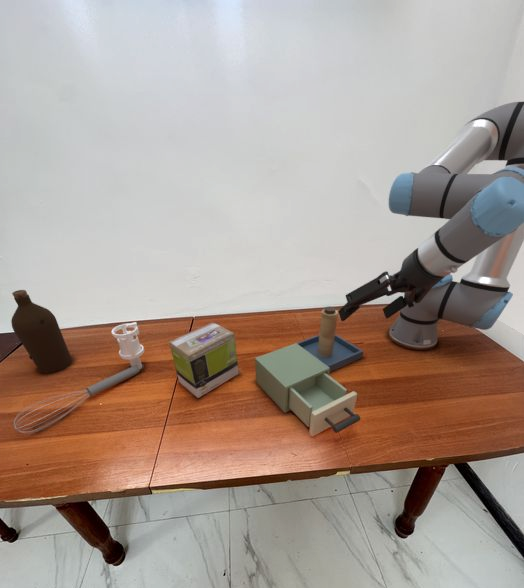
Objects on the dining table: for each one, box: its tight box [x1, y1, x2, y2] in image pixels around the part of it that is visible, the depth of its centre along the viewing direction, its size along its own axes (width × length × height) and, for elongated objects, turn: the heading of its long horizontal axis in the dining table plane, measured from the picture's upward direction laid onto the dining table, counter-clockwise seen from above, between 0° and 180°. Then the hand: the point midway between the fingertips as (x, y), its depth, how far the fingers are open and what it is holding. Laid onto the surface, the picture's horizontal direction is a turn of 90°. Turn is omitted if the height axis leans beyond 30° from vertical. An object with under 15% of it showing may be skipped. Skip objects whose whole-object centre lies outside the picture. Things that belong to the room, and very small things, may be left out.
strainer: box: [111, 321, 145, 370], centre depth 89 cm, size 7×7×15 cm
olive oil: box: [10, 289, 73, 374], centre depth 88 cm, size 11×11×25 cm
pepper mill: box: [318, 306, 339, 358], centre depth 92 cm, size 5×5×16 cm
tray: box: [296, 333, 364, 373], centre depth 96 cm, size 18×16×3 cm
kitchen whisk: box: [13, 365, 141, 434], centre depth 79 cm, size 6×34×6 cm, turn 142°
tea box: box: [168, 321, 240, 399], centre depth 83 cm, size 15×10×15 cm
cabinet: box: [254, 342, 331, 413], centre depth 81 cm, size 15×14×9 cm
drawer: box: [288, 373, 361, 437], centre depth 72 cm, size 18×13×7 cm
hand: (363, 314), depth 74 cm, fingers open, 13 cm apart
